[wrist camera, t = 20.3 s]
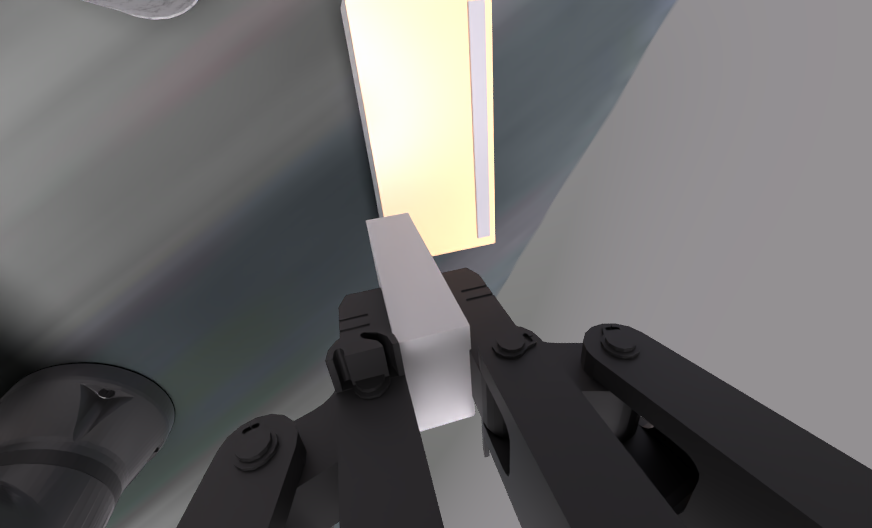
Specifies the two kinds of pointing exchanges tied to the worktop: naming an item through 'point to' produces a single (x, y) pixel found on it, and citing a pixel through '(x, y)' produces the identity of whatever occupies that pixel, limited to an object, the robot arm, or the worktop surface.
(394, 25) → the duct cover
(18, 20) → the worktop surface
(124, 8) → the grey concrete cylinder
